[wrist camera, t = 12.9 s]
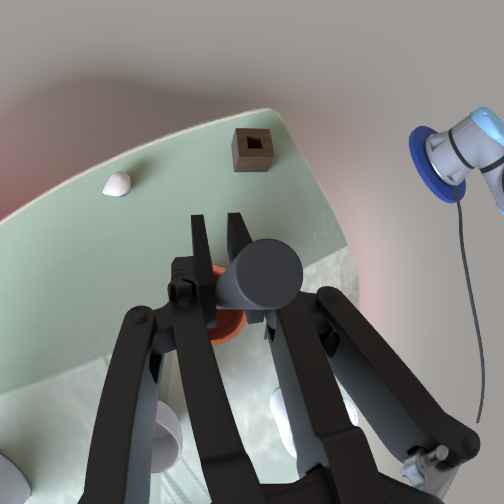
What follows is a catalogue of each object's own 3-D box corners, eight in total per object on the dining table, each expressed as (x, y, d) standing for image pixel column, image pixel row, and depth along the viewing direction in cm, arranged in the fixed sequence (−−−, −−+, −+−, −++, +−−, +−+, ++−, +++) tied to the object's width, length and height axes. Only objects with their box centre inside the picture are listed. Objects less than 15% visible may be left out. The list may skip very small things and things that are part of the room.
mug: (144, 380, 35) (130, 401, 25) (194, 413, 35) (195, 442, 26) (107, 433, 31) (88, 461, 22) (153, 463, 32) (146, 497, 22)
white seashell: (136, 193, 40) (133, 186, 38) (108, 206, 39) (104, 200, 37) (128, 172, 41) (125, 164, 38) (101, 184, 39) (97, 178, 37)
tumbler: (245, 316, 40) (264, 318, 30) (195, 345, 38) (195, 358, 27) (216, 265, 41) (224, 250, 30) (166, 293, 38) (155, 288, 28)
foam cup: (252, 387, 38) (276, 418, 25) (306, 364, 40) (348, 383, 28) (271, 435, 37) (299, 474, 24) (322, 411, 39) (363, 440, 27)
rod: (226, 303, 23) (316, 285, 6) (210, 312, 23) (258, 323, 6) (217, 286, 24) (281, 226, 6) (201, 296, 23) (220, 258, 6)
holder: (266, 171, 46) (274, 157, 41) (234, 172, 44) (239, 157, 40) (262, 144, 47) (269, 128, 42) (231, 144, 45) (235, 128, 41)
